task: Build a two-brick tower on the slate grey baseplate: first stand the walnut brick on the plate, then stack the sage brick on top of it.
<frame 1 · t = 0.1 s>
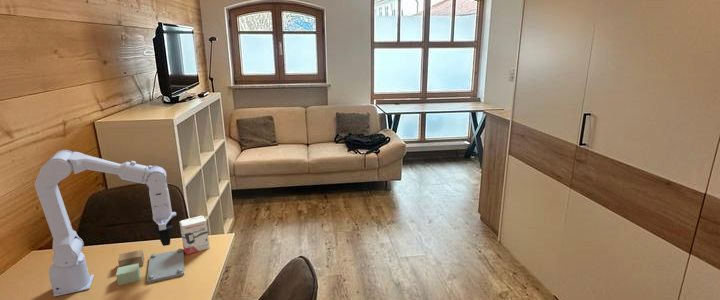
hand: (166, 239, 134), 10 cm above the table, tool pointing down, fingers open, 7 cm apart
baseplate: (166, 266, 136), on the table
sage brick: (129, 279, 130), on the table
walnut brick: (132, 265, 138), on the table
ink box: (196, 249, 147), on the table
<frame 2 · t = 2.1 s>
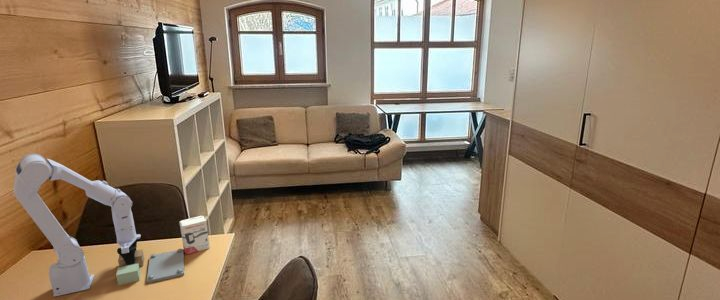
hand: (131, 261, 137), 1 cm above the table, tool pointing down, fingers closed on walnut brick, 4 cm apart
walnut brick: (132, 264, 137), on the table, touching gripper
everything else where it was.
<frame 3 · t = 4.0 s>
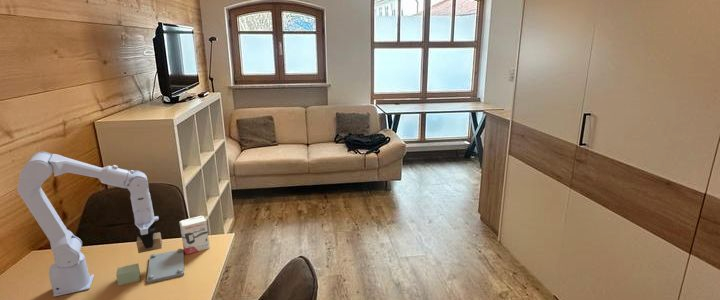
hand: (149, 243, 134), 9 cm above the table, tool pointing down, fingers closed on walnut brick, 4 cm apart
walnut brick: (150, 247, 135), point 7 cm above the table, touching gripper
everything else where it was.
when the fingers open (3 cm above the table, at t = 5.7 s): walnut brick stays where it is, resting on baseplate.
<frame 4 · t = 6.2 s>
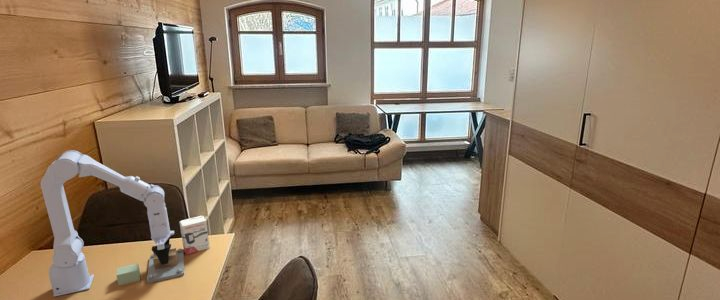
hand: (165, 257, 135), 3 cm above the table, tool pointing down, fingers open, 7 cm apart
walnut brick: (166, 263, 136), point 1 cm above the table, touching baseplate
everything else where it was.
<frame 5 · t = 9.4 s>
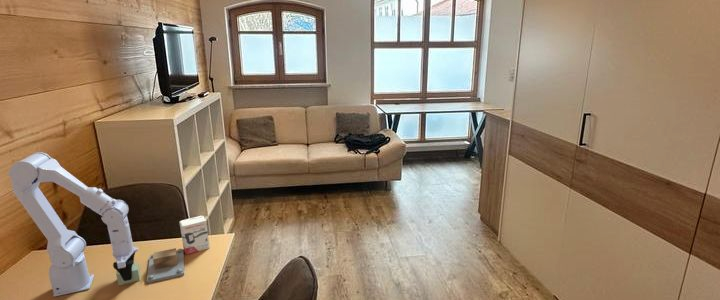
hand: (128, 275, 129), 1 cm above the table, tool pointing down, fingers closed on sage brick, 5 cm apart
sage brick: (129, 279, 130), on the table, touching gripper
everything else where it was.
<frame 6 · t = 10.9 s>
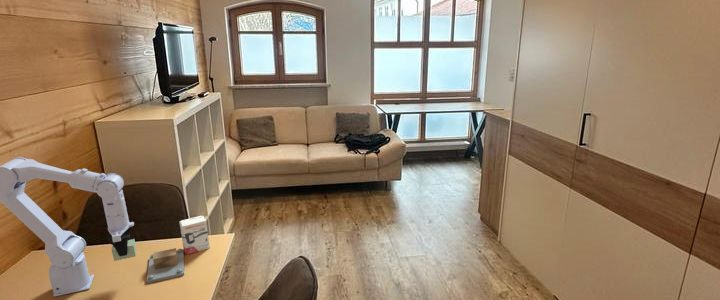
hand: (124, 251, 127), 10 cm above the table, tool pointing down, fingers closed on sage brick, 5 cm apart
sage brick: (125, 255, 127), point 9 cm above the table, touching gripper
everything else where it was.
when the fingers open (7 cm above the table, at t = 12.8 s): sage brick stays where it is, resting on walnut brick.
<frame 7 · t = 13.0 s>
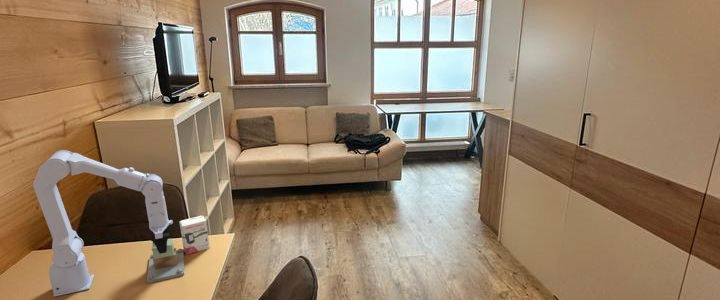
hand: (163, 247, 134), 7 cm above the table, tool pointing down, fingers open, 6 cm apart
sage brick: (164, 253, 135), point 5 cm above the table, touching walnut brick
walnut brick: (166, 263, 136), point 1 cm above the table, touching baseplate, sage brick
everything else where it was.
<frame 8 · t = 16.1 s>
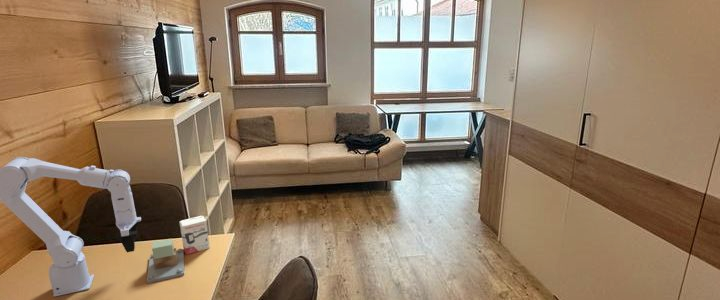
hand: (131, 245, 130), 10 cm above the table, tool pointing down, fingers open, 7 cm apart
nothing on the table moved.
at the end: walnut brick 0.1 cm off-centre on the baseplate, point 1.0 cm above the baseplate's base; sage brick 0.2 cm off-centre on the walnut brick, point 4.0 cm above the walnut brick's base; sage brick tilted 0° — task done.
